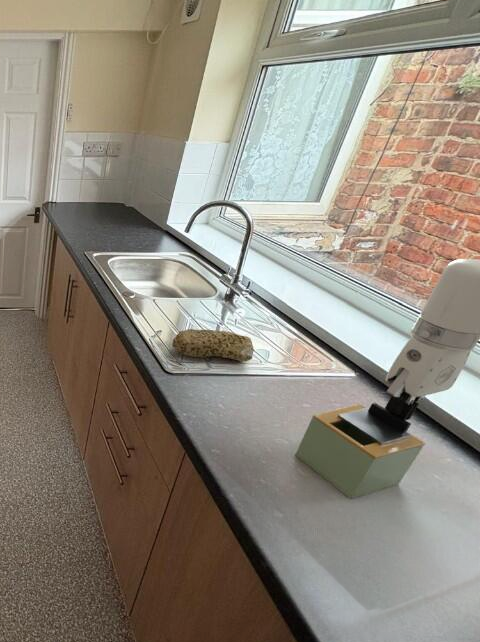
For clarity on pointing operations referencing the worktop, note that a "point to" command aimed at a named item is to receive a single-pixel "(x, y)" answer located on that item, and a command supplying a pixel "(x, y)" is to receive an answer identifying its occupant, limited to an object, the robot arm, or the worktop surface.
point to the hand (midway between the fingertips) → (395, 415)
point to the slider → (378, 424)
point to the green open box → (354, 455)
